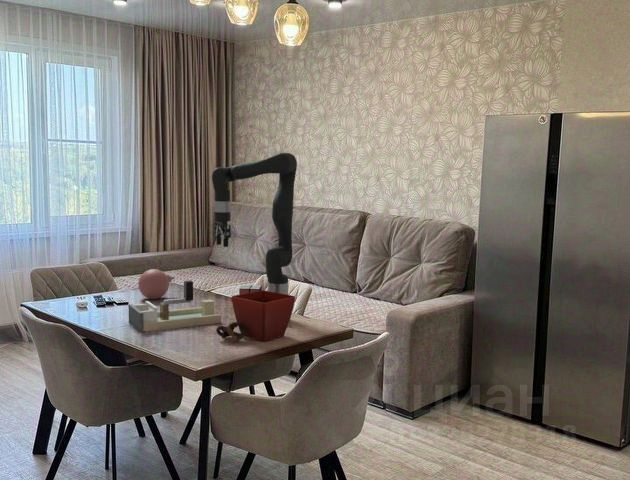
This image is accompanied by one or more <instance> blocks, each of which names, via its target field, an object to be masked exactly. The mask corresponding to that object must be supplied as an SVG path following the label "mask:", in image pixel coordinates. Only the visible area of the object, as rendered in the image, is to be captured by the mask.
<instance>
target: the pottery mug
mask: <svg viewBox="0 0 630 480" xmlns="http://www.w3.org/2000/svg"><path fill="white" fill-rule="evenodd" d="M238 326H240V327H241V329H244V332H242V333H241V332H238V331H234V330H235V329H236V328H238ZM215 331H216V334H217V335H219V336H220V337H221V338H222V339H224V340H226V338H229V337H232V338H231V340H230V343H232V344H235V343H237V342H238V341H241V340H242V339H245V338H246V337H245V336H246V328H245V326H244V325H243V324H241V323H238V322H237V321H233V322H232V321H231V322H230V323H229V324H228V325H226V326H224V325H219V326H217V327H216V330H215Z"/></svg>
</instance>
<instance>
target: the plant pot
mask: <svg viewBox="0 0 630 480" xmlns="http://www.w3.org/2000/svg"><path fill="white" fill-rule="evenodd" d="M295 300H296V296H295V295H292V294H291V295H290V294H288V295H286V294H281V293H276V292H270V291H268V290H264V289H262V291H256V292H251V293H245V294H240V295H239V294H235V295H231V301H232V308H233V313H234V316H235V322H238V323H241V324H243V325H244V326H245V328H246V336H245V338H249V339H253V340H255V341H260V342H266V341H271V340H275V339H278V338H281V337H284V336H285V333H286V331H287V329H288V325H289V323H290V320H291V317H292V313H293V310H294V305H295ZM237 328H239V333H242V332H244V329H241V327H240V326H237Z"/></svg>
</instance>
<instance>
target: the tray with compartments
mask: <svg viewBox="0 0 630 480" xmlns="http://www.w3.org/2000/svg"><path fill="white" fill-rule="evenodd" d="M149 309H152V310H149ZM128 323H129V324H130V325H131V326H132V325H133V326H132V327H133V328H134V329H136V331H138V332H139V333H144V331H145V332H151V331H153V332H154V331H161V330H169V329H178V328H185V327H193V326H194V327H195V326H203V325H212V324H220V323H222V314H219V313H218V314H215V300H212V299H203V300H201V306H199V307H189V308H180V309H169V320H162V319H160V310H159V311H158V307H157V306H156V305H154V304H153V303H151V301H148V300H145V301H144V303H140V304H133V303H132V304H131V303H129V304H128Z"/></svg>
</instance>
